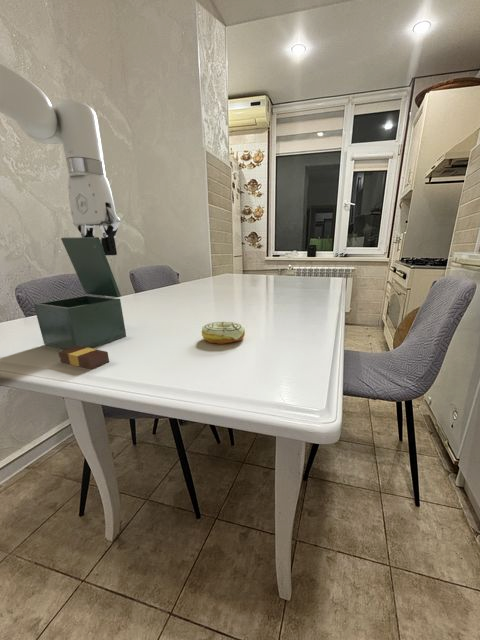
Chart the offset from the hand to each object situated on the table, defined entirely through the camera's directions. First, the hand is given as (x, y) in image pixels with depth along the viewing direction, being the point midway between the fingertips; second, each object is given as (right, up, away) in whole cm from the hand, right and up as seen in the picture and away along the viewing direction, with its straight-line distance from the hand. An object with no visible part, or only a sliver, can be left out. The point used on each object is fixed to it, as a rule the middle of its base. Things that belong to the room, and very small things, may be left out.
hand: (101, 254), depth 72 cm
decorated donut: (+30, -21, +2) cm, 37 cm away
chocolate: (+4, -26, -13) cm, 30 cm away
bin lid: (-2, -4, -2) cm, 5 cm away
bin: (-3, -21, 0) cm, 22 cm away
